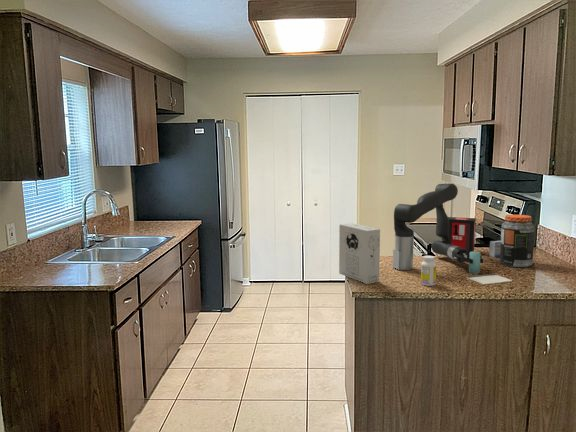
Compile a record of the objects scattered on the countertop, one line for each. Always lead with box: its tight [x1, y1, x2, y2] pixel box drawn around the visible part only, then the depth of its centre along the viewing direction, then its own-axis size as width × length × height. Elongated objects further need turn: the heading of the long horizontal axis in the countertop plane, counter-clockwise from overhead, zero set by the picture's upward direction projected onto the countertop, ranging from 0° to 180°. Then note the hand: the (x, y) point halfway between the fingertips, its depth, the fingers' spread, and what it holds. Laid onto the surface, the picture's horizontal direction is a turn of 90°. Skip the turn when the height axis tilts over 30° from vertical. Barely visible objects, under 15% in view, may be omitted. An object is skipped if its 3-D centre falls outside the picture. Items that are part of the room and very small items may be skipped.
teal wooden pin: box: [468, 250, 481, 274], centre depth 234 cm, size 5×5×10 cm
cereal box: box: [338, 222, 381, 285], centre depth 225 cm, size 22×8×25 cm, turn 30°
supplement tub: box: [499, 214, 535, 268], centre depth 247 cm, size 16×16×26 cm
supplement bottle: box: [420, 255, 437, 287], centre depth 215 cm, size 7×7×13 cm
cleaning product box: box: [448, 216, 477, 253], centre depth 277 cm, size 16×9×20 cm, turn 64°
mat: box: [466, 273, 513, 285], centre depth 222 cm, size 16×12×1 cm
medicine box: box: [488, 240, 501, 258], centre depth 267 cm, size 8×4×9 cm, turn 105°
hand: (477, 261), depth 232 cm, fingers closed on teal wooden pin, 5 cm apart
